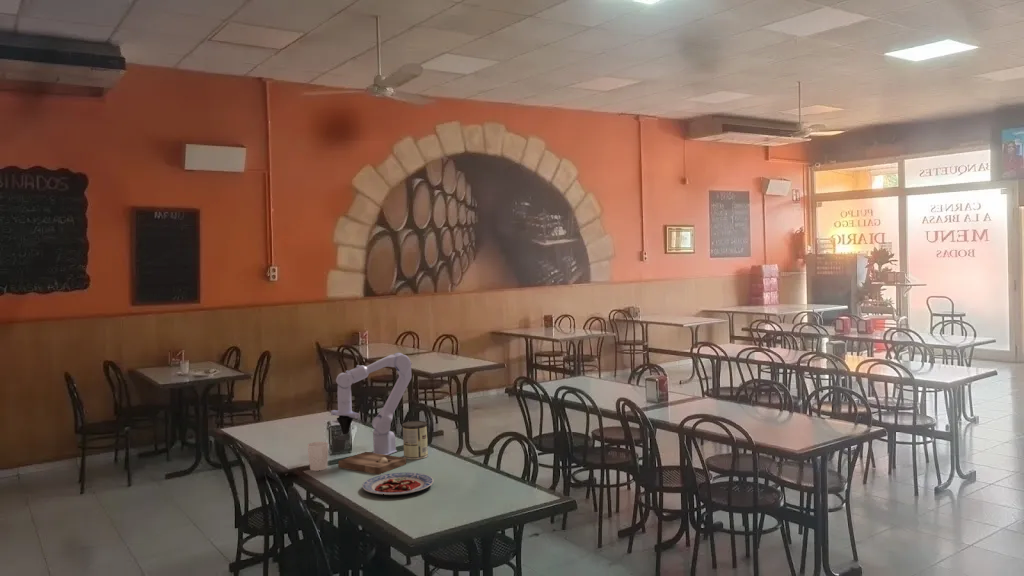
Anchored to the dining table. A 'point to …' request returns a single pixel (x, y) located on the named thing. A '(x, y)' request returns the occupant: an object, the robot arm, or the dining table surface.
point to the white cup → (318, 455)
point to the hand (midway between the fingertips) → (345, 433)
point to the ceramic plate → (397, 483)
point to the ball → (382, 460)
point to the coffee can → (415, 440)
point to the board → (371, 462)
